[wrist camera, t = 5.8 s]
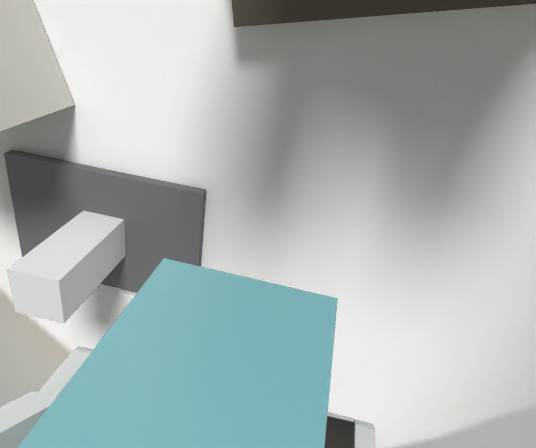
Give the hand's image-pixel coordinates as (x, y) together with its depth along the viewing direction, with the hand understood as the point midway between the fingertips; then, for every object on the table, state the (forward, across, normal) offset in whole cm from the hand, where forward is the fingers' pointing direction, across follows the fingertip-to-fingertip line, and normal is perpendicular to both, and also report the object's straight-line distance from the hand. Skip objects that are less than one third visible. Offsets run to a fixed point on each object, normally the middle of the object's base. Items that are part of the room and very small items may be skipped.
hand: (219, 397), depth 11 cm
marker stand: (+13, +11, +4) cm, 18 cm away
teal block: (+2, 0, 0) cm, 2 cm away
